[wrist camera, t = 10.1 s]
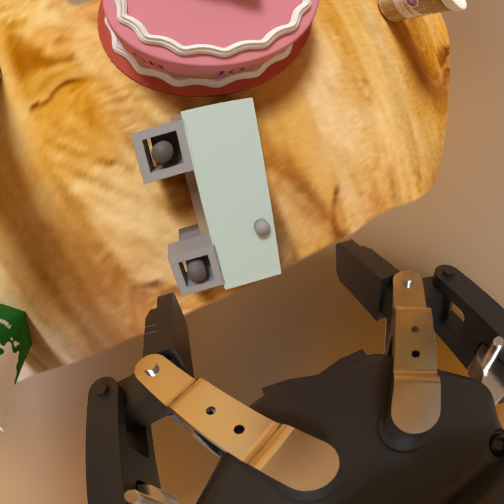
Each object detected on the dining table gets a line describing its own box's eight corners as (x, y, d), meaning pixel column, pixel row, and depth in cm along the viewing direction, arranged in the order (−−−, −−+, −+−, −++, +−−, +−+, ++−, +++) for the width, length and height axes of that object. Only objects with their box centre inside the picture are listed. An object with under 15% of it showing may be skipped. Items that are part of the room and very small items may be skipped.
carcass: (150, 123, 26) (141, 122, 19) (245, 101, 27) (263, 95, 21) (191, 267, 34) (195, 301, 28) (270, 245, 36) (290, 273, 29)
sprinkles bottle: (371, 1, 23) (439, -21, 11) (388, -5, 22) (453, -24, 11) (389, 26, 25) (460, 12, 13) (404, 19, 25) (471, 7, 13)
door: (135, 126, 23) (127, 126, 19) (244, 100, 24) (255, 96, 20) (182, 284, 31) (184, 306, 28) (272, 260, 33) (284, 277, 29)
